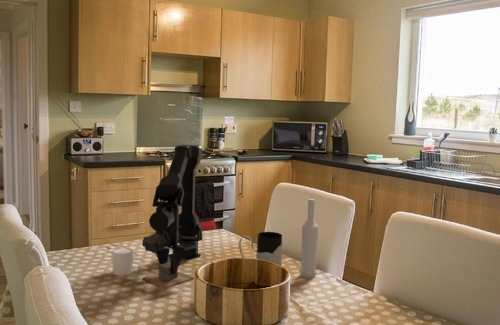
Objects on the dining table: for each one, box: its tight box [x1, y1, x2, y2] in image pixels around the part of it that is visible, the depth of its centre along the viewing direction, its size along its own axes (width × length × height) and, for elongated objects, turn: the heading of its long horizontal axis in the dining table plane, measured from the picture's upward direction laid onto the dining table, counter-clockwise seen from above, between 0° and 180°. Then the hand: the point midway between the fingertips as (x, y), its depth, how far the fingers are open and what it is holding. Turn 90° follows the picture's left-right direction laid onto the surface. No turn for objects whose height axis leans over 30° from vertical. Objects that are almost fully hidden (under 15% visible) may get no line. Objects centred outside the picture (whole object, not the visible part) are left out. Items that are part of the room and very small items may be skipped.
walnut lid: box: [142, 261, 195, 289], centre depth 160 cm, size 11×11×5 cm
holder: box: [238, 231, 283, 267], centre depth 160 cm, size 9×14×15 cm, turn 72°
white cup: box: [110, 248, 134, 277], centre depth 164 cm, size 7×7×7 cm
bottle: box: [299, 198, 319, 279], centre depth 166 cm, size 5×5×25 cm
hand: (168, 273), depth 160 cm, fingers closed on walnut lid, 4 cm apart
